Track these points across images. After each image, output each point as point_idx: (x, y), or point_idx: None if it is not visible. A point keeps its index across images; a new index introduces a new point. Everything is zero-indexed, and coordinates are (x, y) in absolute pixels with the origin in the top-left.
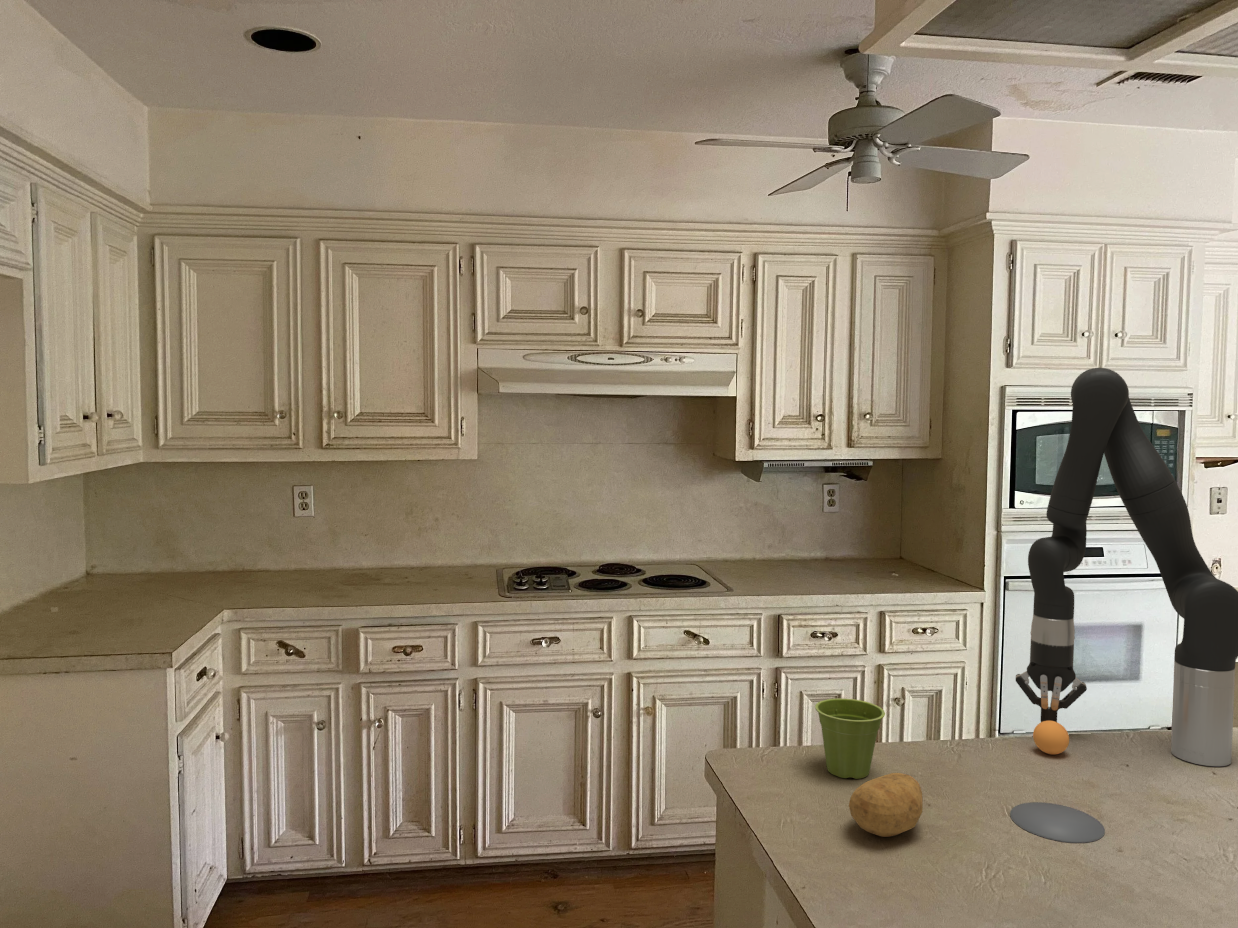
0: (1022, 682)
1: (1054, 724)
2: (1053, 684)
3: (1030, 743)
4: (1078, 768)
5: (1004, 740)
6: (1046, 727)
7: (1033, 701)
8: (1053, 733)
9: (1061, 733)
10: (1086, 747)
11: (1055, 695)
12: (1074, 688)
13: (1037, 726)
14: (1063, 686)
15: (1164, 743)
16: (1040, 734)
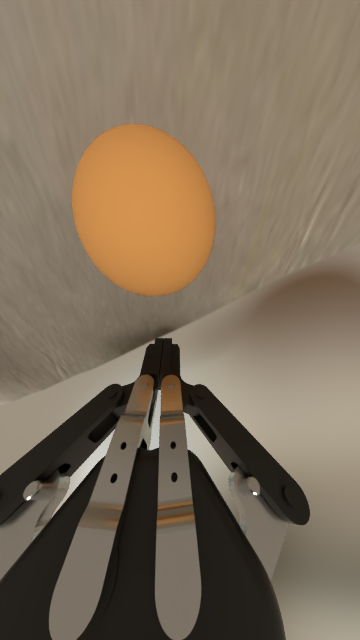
0: (268, 481)
1: (115, 199)
2: (130, 499)
3: (200, 284)
4: (41, 57)
5: (254, 281)
6: (164, 166)
7: (204, 392)
8: (123, 133)
9: (81, 158)
10: (94, 305)
11: (130, 430)
12: (36, 490)
13: (206, 225)
14: (85, 494)
15: (7, 362)
16: (195, 162)
